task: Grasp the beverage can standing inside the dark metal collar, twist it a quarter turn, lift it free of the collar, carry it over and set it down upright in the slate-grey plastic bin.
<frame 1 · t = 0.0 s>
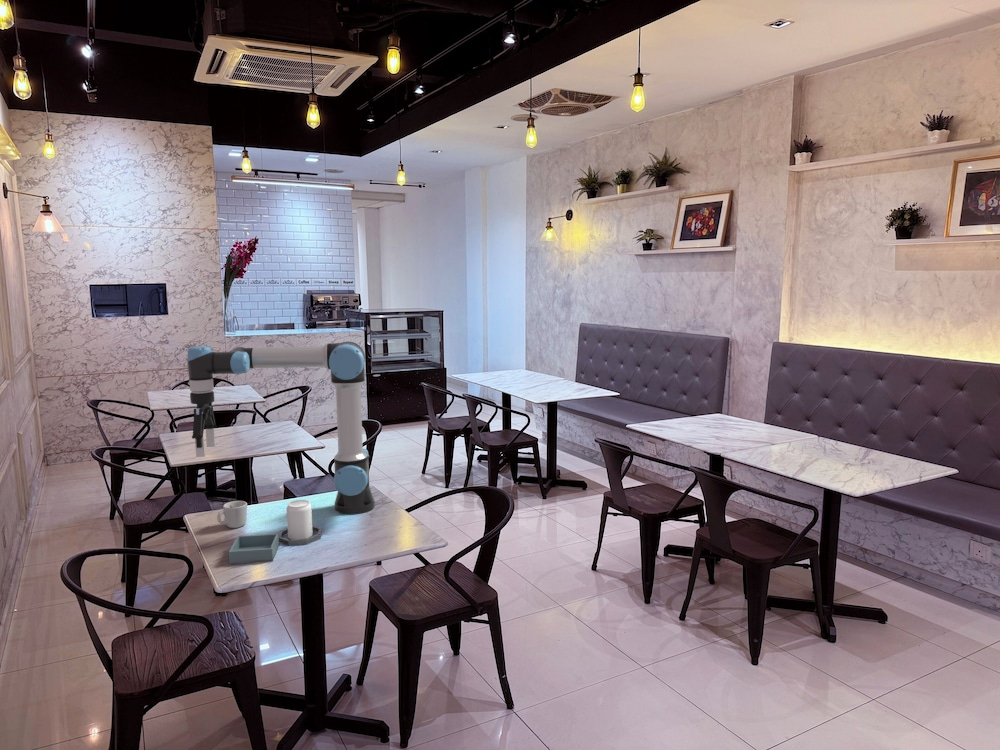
hand: (206, 451, 232), 28 cm above the table, fingers open, 13 cm apart
bin: (255, 554, 214), on the table
cup: (232, 527, 238), on the table
beverage can: (300, 537, 228), resting in collar
collar: (300, 536, 228), on the table
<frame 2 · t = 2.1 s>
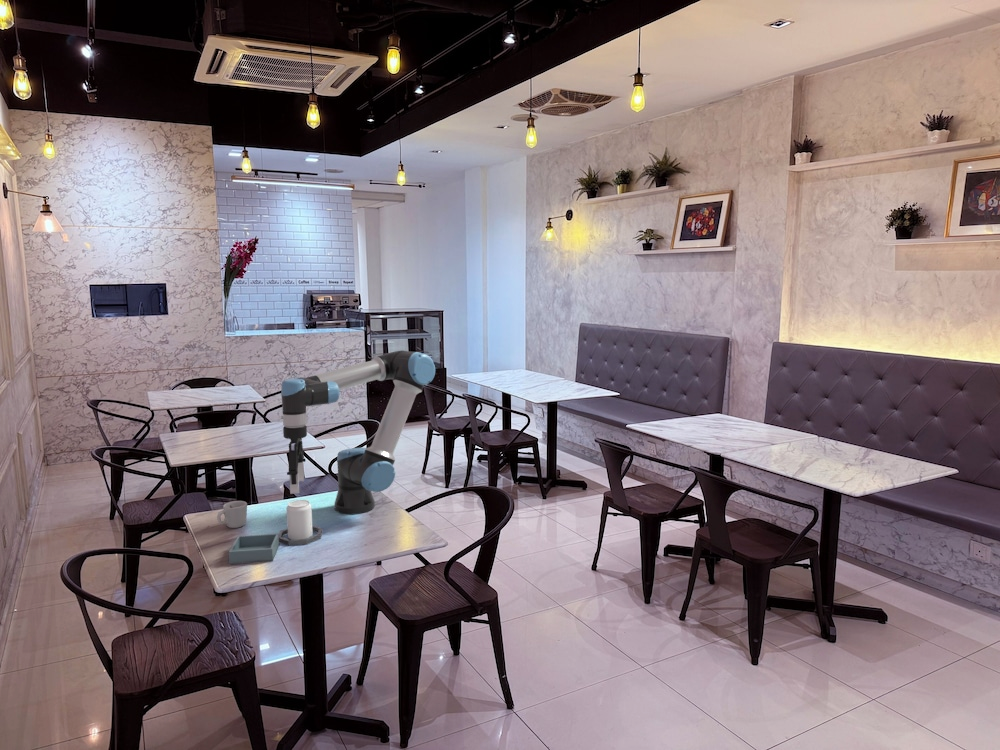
hand: (297, 487, 226), 18 cm above the table, fingers open, 13 cm apart
nothing on the table moved.
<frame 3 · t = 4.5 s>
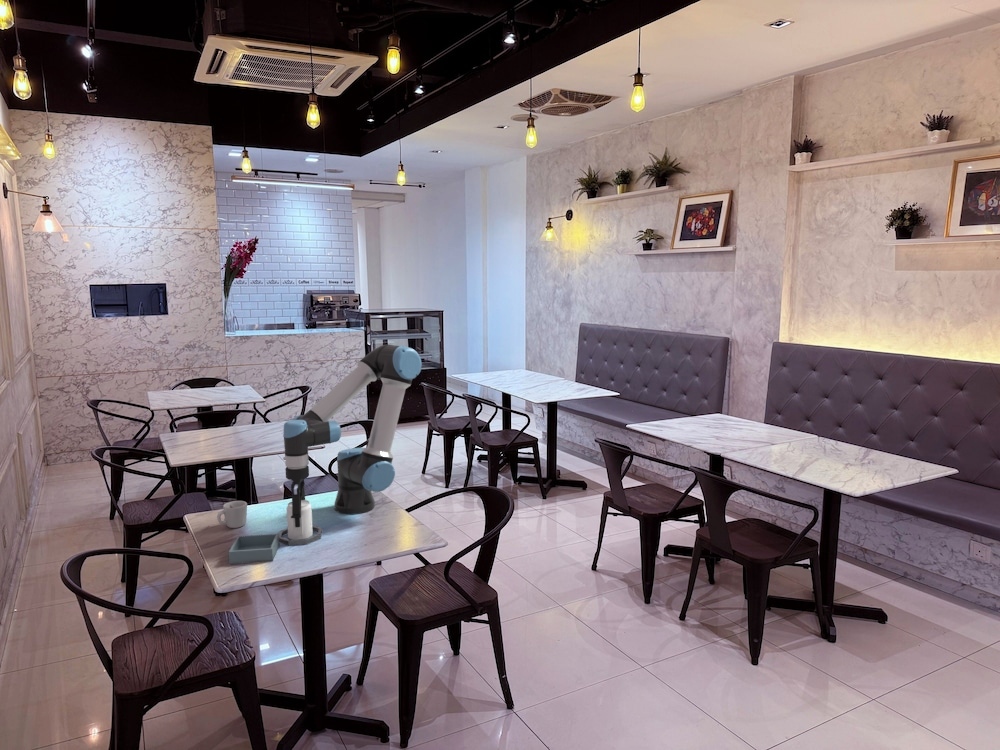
hand: (300, 530, 228), 2 cm above the table, fingers closed on beverage can, 8 cm apart
beverage can: (300, 537, 228), resting in collar, touching gripper
everything else where it was.
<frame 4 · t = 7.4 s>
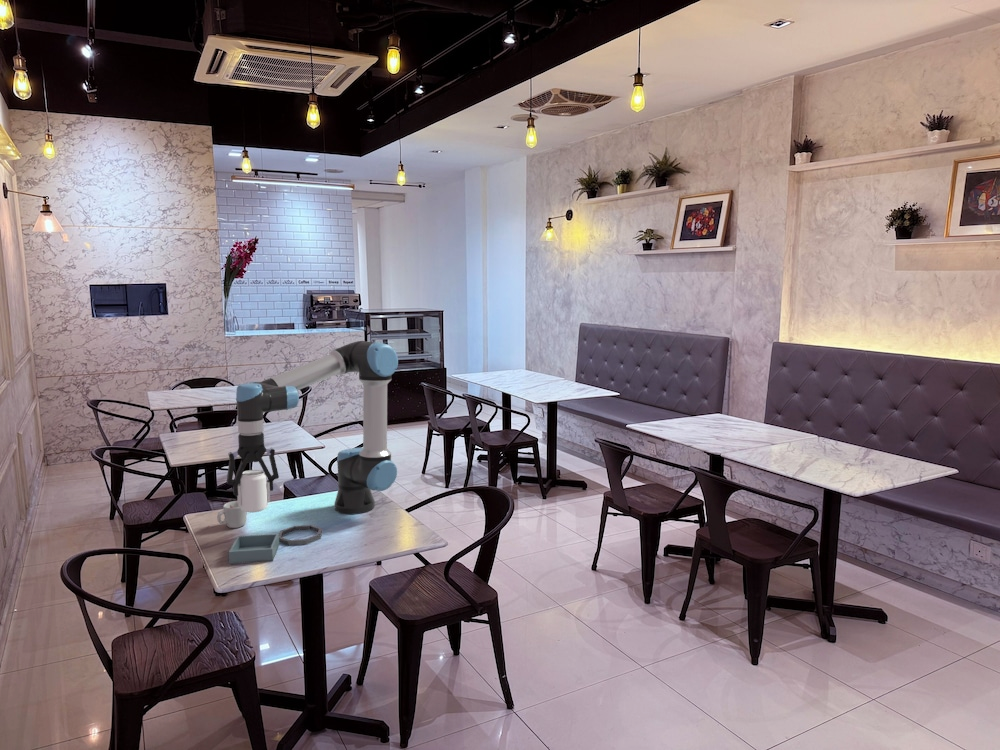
hand: (254, 502, 212), 17 cm above the table, fingers closed on beverage can, 8 cm apart
beverage can: (254, 509, 213), point 15 cm above the table, touching gripper
everything else where it was.
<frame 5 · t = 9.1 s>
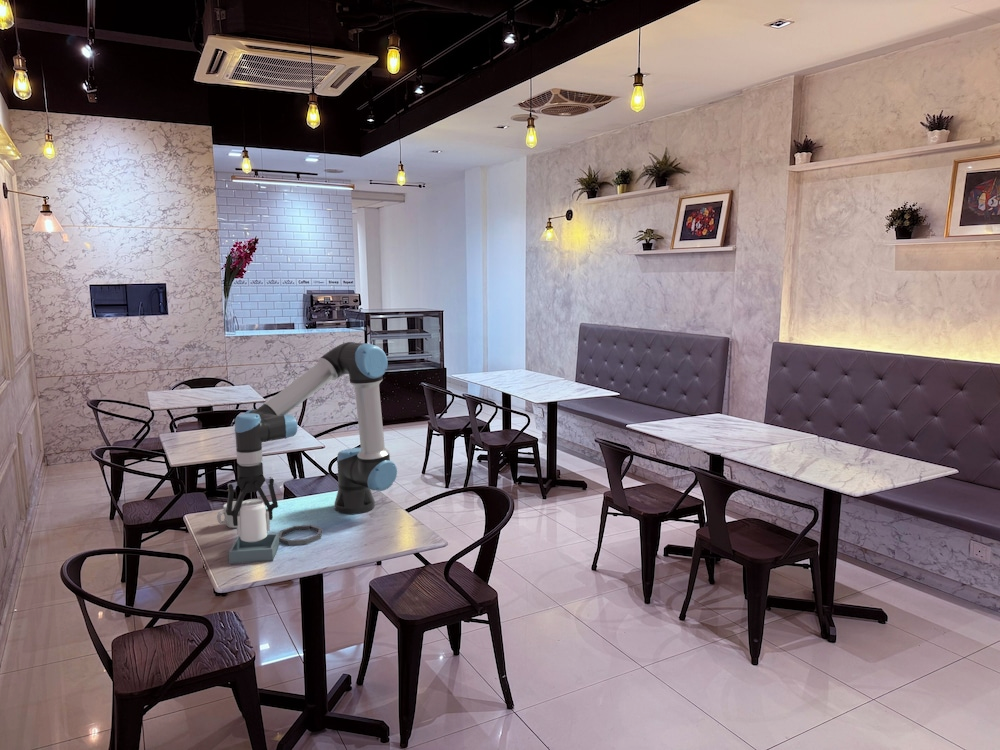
hand: (253, 532, 213), 7 cm above the table, fingers closed on beverage can, 8 cm apart
beverage can: (253, 539, 213), point 5 cm above the table, touching gripper
everything else where it was.
when the fingers open (5 cm above the table, at t = 10.5 s): beverage can drops 2 cm, resting on bin.
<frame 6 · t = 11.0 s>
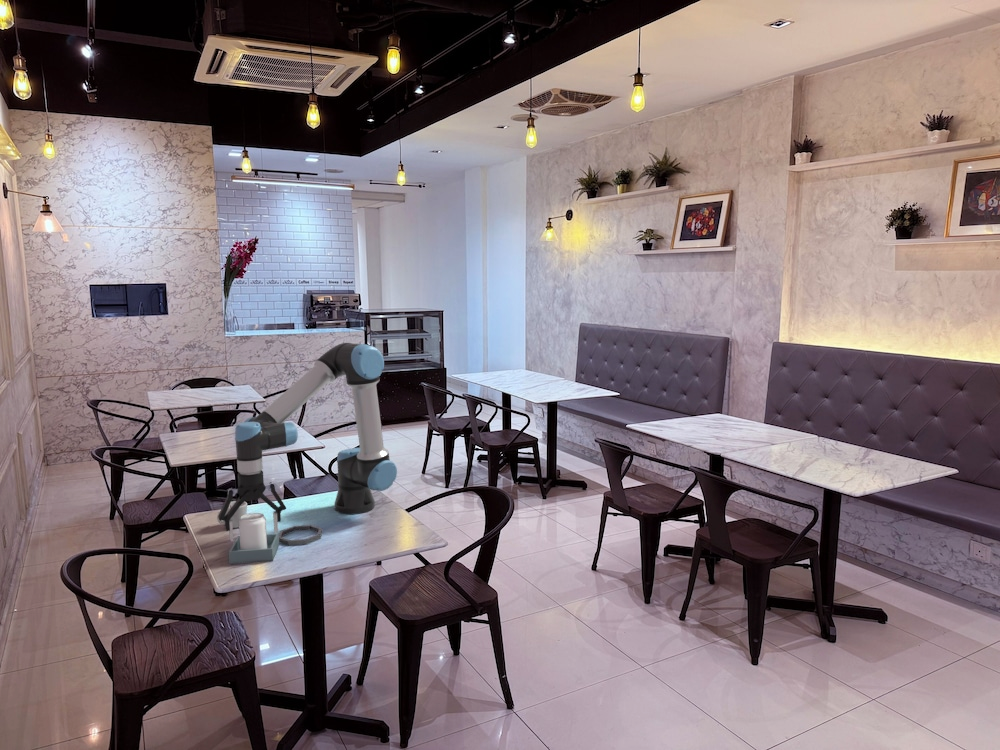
hand: (254, 535, 213), 6 cm above the table, fingers open, 13 cm apart
beverage can: (254, 553, 214), resting on bin
everything else where it was.
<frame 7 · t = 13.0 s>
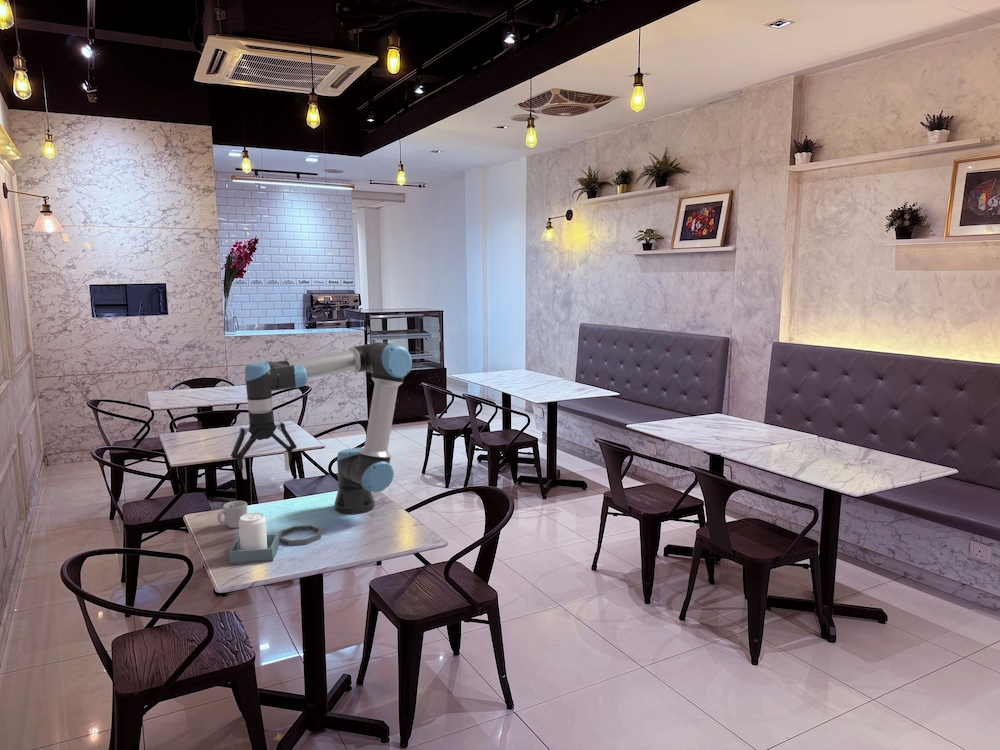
hand: (266, 474, 219), 24 cm above the table, fingers open, 13 cm apart
nothing on the table moved.
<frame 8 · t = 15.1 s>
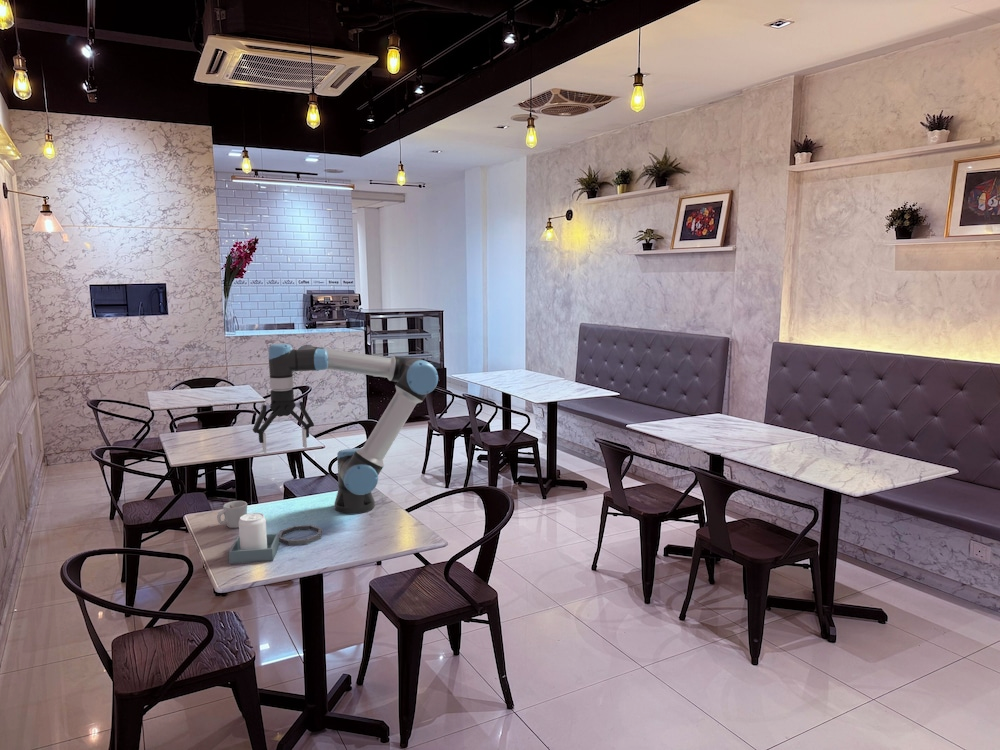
hand: (285, 449, 232), 29 cm above the table, fingers open, 13 cm apart
nothing on the table moved.
at the end: beverage can inside the target area on the bin (0.3 cm from its centre), point 0.4 cm above the bin's base; beverage can tilted 0°; beverage can touching bin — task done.
